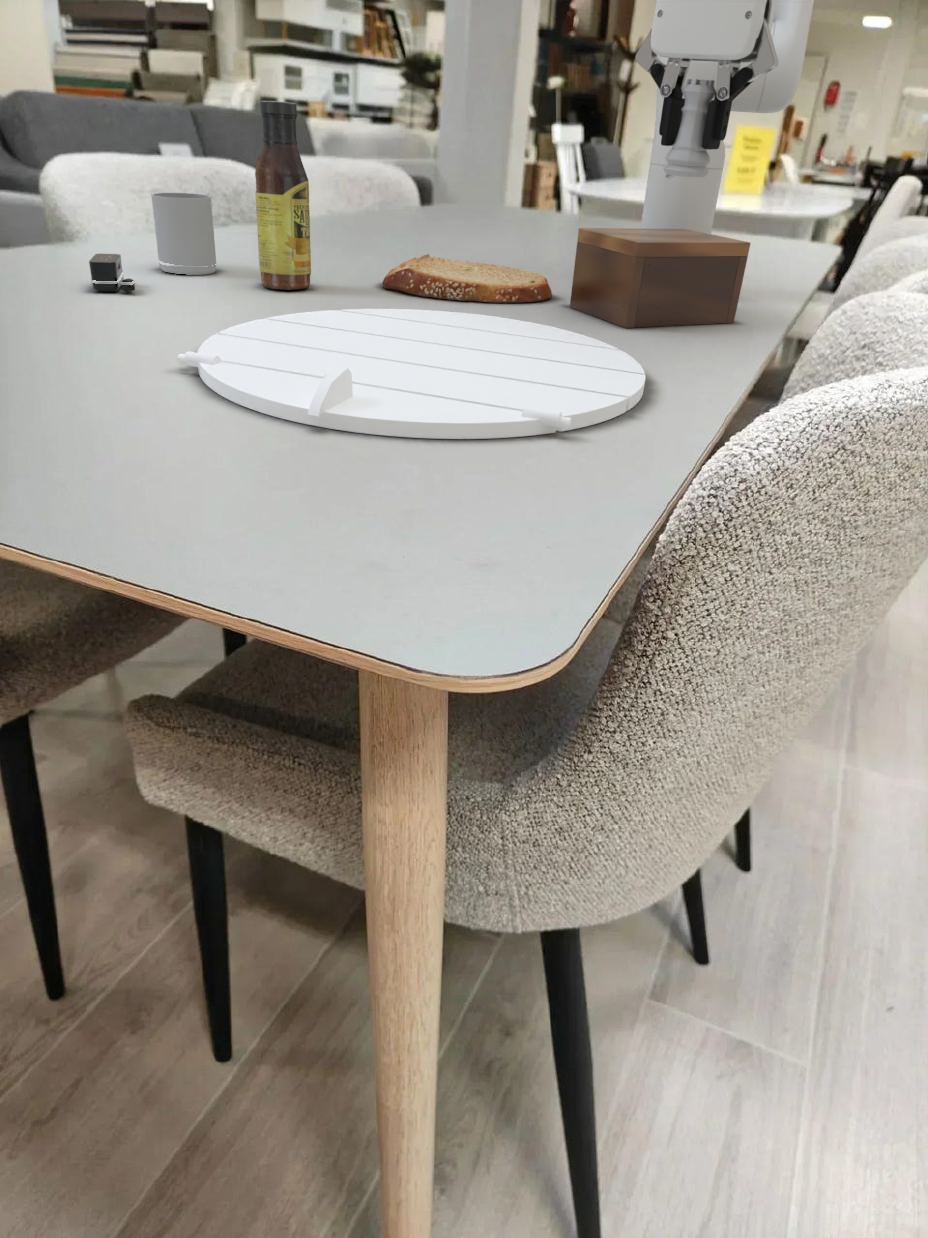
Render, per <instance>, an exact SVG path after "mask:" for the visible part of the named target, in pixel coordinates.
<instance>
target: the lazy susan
mask: <svg viewBox="0 0 928 1238" xmlns="http://www.w3.org/2000/svg"><path fill="white" fill-rule="evenodd" d="M176 361H177V363H178V364H179V365H181V366H186V367H187V366H189V367H194V368H197V370H198V375H199V377H200V378H201V380H202V382H203V383H204V384H205V385H206V386H207V387H208V388H209V389H211V390H212V391H213V392H215V393H216V394H218V395H219V396H221V397H222V398H225V399H226V400H228V401H231V402H232V403H234V404H236V405H239V406H242V407H245V408H246V409H250V410H251V411H255V412H259V413H261V414H264V415H268V416H270V417H271V416H272V417H275V418H279V419H282V420H285V421H290V422H295V423H299V424H302V425H308V426H313V427H317V428H323V429H328V430H329V429H330V430H337V431H343V432H350V433H358V434H364V435H376V436H386V437H397V438H412V439H413V438H414V439H435V440H477V439H478V440H482V439H483V440H485V439H487V440H489V439H505V438H506V439H508V438H519V437H522V438H523V437H529V436H531V437H532V436H539V435H540V436H541V435H547V434H549V435H550V434H554V433H556V432H561V433H562V432H567V431H572V430H578V429H581V428H586V427H590V426H593V425H597V424H601V423H603V422H606V421H609V420H612V419H614V418H616V417H619V416H621V415H624V414H625V413H626V412H628V411H629V410H631V409H632V408H634V407H635V406H637V404H638V403H639V402H640V401H641V399H642V398H643V395H644V390H645V385H646V379H647V378H646V372H645V369H644V368H643V366H642V365H641V364H640V363H639V361H638V360H636V359H635V358H634V357H632V356H631V355H630V354H628V353H627V352H625V351H623V350H620V349H619V348H617V347H616V346H614V345H611V344H609V343H606V342H604V341H601V340H599V339H596V338H593V337H591V336H588V335H584V334H581V333H578V332H574V331H570V330H567V329H563V328H559V327H556V326H550V325H546V324H542V323H536V322H532V321H527V320H526V321H525V320H520V319H515V318H509V317H508V318H507V317H501V316H493V315H487V314H478V313H468V312H458V311H448V310H447V311H446V310H434V309H433V310H431V309H410V308H409V309H408V308H349V309H348V308H347V309H338V310H336V309H328V310H327V309H326V310H316V311H315V310H314V311H305V312H296V313H288V314H281V315H275V316H268V317H265V318H260V319H259V318H258V319H254V320H250V321H245V322H243V323H240V324H235V325H233V326H230V327H228V328H227V327H226V328H225V329H222V330H219V331H218V332H217V333H214V334H213V335H211V336H209V337H208V338H206V339H205V340H204V341H203V342H202V343H201V344H200V346H199V347H198V348H197V352H196V351H191V350H189V351H186V352H185V353H179V354H177V357H176Z"/></svg>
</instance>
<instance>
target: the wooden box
mask: <svg viewBox="0 0 928 1238" xmlns="http://www.w3.org/2000/svg"><path fill="white" fill-rule="evenodd" d="M577 234H578V235H577V240H576V251H575V256H574V266H573V276H572V284H571V291H570V292H571V293H570V300H569V301H570V302H569V308H572V309H574V310H577V311H580V312H582V313H585V314H587V315H590V316H593V317H596V318H598V319H600V320H603V321H606V322H608V323H611V324H613V325H617V326H619V327H621V328H624V329H633V328H654V327H674V326H675V327H677V326H697V325H715V324H734V323H735V319H736V314H737V310H738V305H739V301H740V295H741V292H742V291H741V290H742V286H743V281H744V277H745V272H746V267H747V261H748V258H749V257H748V256H749V253H750V248H751V242H750V241H745V240H741V239H736V238H730V237H726V236H721V235H717V234H712V233H711V234H707V233H702V232H697V231H692V230H688V229H640V228H623V227H622V228H620V227H619V228H617V227H616V228H614V227H613V228H612V227H611V228H610V227H609V228H607V227H606V228H605V227H601V228H600V227H579V228H578V233H577Z"/></svg>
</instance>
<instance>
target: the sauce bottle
mask: <svg viewBox="0 0 928 1238" xmlns="http://www.w3.org/2000/svg"><path fill="white" fill-rule="evenodd" d="M260 115H261V118H262V128H263V129H262V130H263V138H262V142H263V145H264V146H263V148H262V151H261V152H260V153H261V154H260V155H259V156H258V158H257V161H256V164H255V172H254V176H255V188H256V190H255V210H256V211H255V212H256V228H257V229H256V231H257V246H258V248H257V249H258V263H259V264H258V265H259V271H260V277H261V278H260V282H261V285H262V286H264V287H265V288H267V289H272V290H285V291H292V290H302V289H307V288H309V287H310V285H311V274H312V262H311V261H312V257H311V256H312V255H311V253H312V252H311V250H312V249H311V217H310V183H309V178H308V175H307V173H306V170H305V167H304V164H303V161H302V158H301V154H300V152H299V151H300V150H299V147H298V140H297V125H296V124H297V123H296V122H297V118H298V110H297V103H295V102H290V101H280V100H279V101H278V100H261V101H260Z"/></svg>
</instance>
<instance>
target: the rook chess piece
mask: <svg viewBox="0 0 928 1238" xmlns="http://www.w3.org/2000/svg"><path fill="white" fill-rule="evenodd" d="M700 82H701V83H700ZM714 82H715V81H714V80H697V79H687V85H686V86H685V87H684V88H683V90H682V93H683V96H684V98H685V103H684V106H683V108H682V109H681V110H682V120H681V124H680V128H679V131H678V135H677V138H676V140H675V143H674V144H673V145H672V149H671V150H670V151H669V152H668V153H667V155H666V160H667V162H668V164H667V165H666V166H665V167H664V168H663V169H664V171H665V173H666V174H668V175H674V176H684V177H705V176H706V174H707V173H708V172H709V171H708V169H707V168H706V167H705V166H706V165H707V164H708V163H709V162H710V156H709V154H708V153H707V149H703V148H702V140H703V135H704V129H705V123H706V117H707V111H708V106H709V102H710V101H711V100H712V98H713V97H714V96H715V93H716V90H715V88H714Z"/></svg>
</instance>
